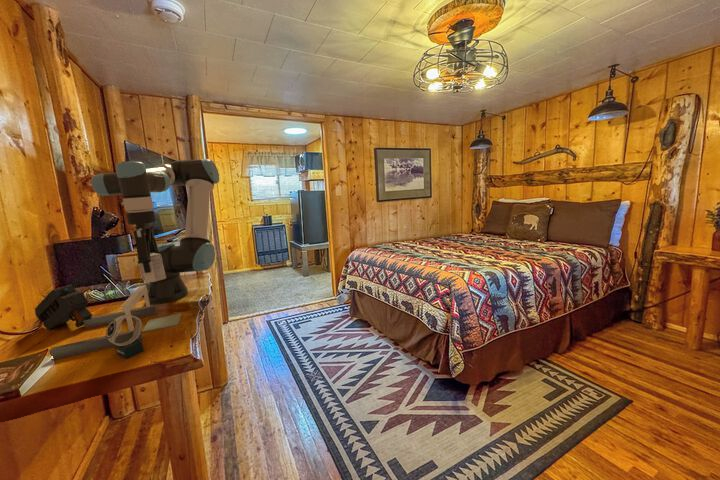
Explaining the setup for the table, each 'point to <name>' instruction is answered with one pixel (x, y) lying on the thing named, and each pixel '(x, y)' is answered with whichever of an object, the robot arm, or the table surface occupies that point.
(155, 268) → the medicine box
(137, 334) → the watch
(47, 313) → the tool
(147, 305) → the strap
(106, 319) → the rails
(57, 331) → the table surface
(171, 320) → the mat
